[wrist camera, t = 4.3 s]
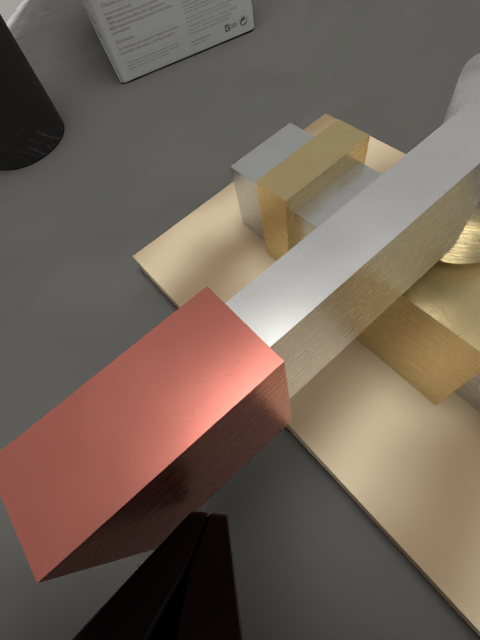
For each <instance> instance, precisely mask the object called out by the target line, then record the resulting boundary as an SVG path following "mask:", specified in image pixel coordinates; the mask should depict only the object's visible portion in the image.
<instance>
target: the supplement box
mask: <svg viewBox="0 0 480 640" xmlns="http://www.w3.org/2000/svg"><path fill="white" fill-rule="evenodd" d="M82 3H83V5H84V7H85V9H86V12H87V14H88V16H89V18H90V21H91V23H92V25H93V27H94V29H95V32H96V34H97V36H98V38H99V40H100V42H101V44H102V46H103V48H104V50H105V52H106V54H107V56H108V58H109V60H110V62H111V64H112V66H113V68H114V70H115V72H116V74H117V76H118V78H119V80H120V82H121V83H126V82H128V81H130V80H133V79H135V78H137V77H140V76H143V75H145V74H147V73H150V72H152V71H155V70H157V69H159V68H162V67H164V66H167V65H169V64H171V63H174V62H176V61H178V60H181V59H183V58H186V57H188V56H191V55H193V54H195V53H198V52H200V51H203V50H205V49H207V48H210V47H212V46H215V45H217V44H219V43H222V42H224V41H226V40H229V39H231V38H234V37H236V36H238V35H241V34H243V33H246V32H248V31H250V30H252V29H253V28H254V18H253V9H252V0H82Z"/></svg>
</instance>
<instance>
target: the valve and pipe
mask: <svg viewBox="0 0 480 640" xmlns="http://www.w3.org/2000/svg"><path fill="white" fill-rule="evenodd" d="M369 138H370V135H368V134H366V133H364V132H362V131H360V130H359V129H357V128H355V127H353V126H351V125H349V124H347V123H345V122H343V121H341V120H339V119H337V120H336V121H335V122H333V123H332V124H331V125H330V126H328V127H327V128H326V129H324V130H323V131H322V132H320V133H319V134H318V135H316V136H313V135H311V134H309V133H308V132H306V131H304V130H302V129H300V128H299V127H297V126H295V125H293V124H291V123H289V124H288V125H287V126H285V127H284V128H283V129H281V130H280V131H278V132H277V133H276V134H274V135H273V136H272V137H270V138H269V139H267V140H266V141H265V142H263V143H262V144H261V145H259V146H258V147H256V148H255V149H254V150H252V151H251V152H250V153H248V154H247V155H246V156H244V157H243V158H241V159H240V160H239V161H237V162H236V163H235V164H233V165H232V166H230V167H231V172H232V176H233V181H234V186H235V190H236V195H237V199H238V204H239V209H240V213H241V218H242V222H243V224H244V225H246V226H247V227H248V228H249V229H251V230H252V231H253V232H254V233H256V234H257V235H258V236H259V237H261V238H262V239H263V240H264V241H265V246H266V253H267V254H268V255H270V256H271V257H272V258H273V259H274V260H276V261H277V260H278V259H280V258H281V257H282V256H283V255H284V254H286V253H287V252H288V251H289V250H291V249H292V248H293V247H294V246H295V245H297V244H298V243H299V242H300V241H302V240H303V239H304V238H305V237H306V236H308V235H309V234H310V233H311V232H312V231H314V230H315V229H316V228H317V227H319V226H320V225H321V224H322V223H323V222H325V221H326V220H327V219H328V218H330V217H331V216H332V215H333V214H334V213H336V212H337V211H338V210H339V209H341V208H342V207H343V206H344V205H345V204H347V203H348V202H349V201H350V200H351V199H353V198H354V197H355V196H356V195H358V194H359V193H360V192H361V191H362V190H364V189H365V188H366V187H367V186H369V185H370V184H371V183H372V182H373V181H375V180H376V179H377V178H378V177H380V176H381V175H382V174H381V173H379V172H377V171H376V170H374V169H372V168H370V167H368V166H367V165H365V160H366V154H367V149H368V143H369ZM355 339H357V340H358V341H359V342H360V343H361V344H363V345H364V346H365V347H366V348H367V349H369V350H370V351H371V352H372V353H373V354H375V355H376V356H377V357H378V358H379V359H381V360H382V361H383V362H384V363H385V364H387V365H388V366H389V367H390V368H391V369H393V370H394V371H395V372H396V373H397V374H399V375H400V376H401V377H402V378H403V379H404V380H406V381H407V382H408V383H409V384H410V385H412V386H413V387H414V388H415V389H416V390H418V391H419V392H420V393H421V394H422V395H424V396H425V397H426V398H427V399H428V400H430V401H431V402H432V403H433V404H434V405H437V404H438V403H440V402H441V401H442V400H444V399H445V398H446V397H447V396H449V395H450V394H451V393H453V392H455V393H456V394H458V395H459V396H460V397H461V398H463V399H464V400H465V401H466V402H468V403H469V404H470V405H471V406H473V407H474V408H475V409H476V410H478V411H479V412H480V262H478V263H473V264H452V263H447V262H443V261H440V260H439V261H438V262H437V263H436V264H435V265H433V266H432V267H431V268H430V269H429V270H428V271H427V272H426V273H425V274H424V275H423V276H422V277H421V278H419V279H418V280H417V281H416V282H415V283H414V284H413V285H412V286H411V287H410V288H409V289H408V290H407V291H405V292H404V293H403V294H402V295H401V296H400V297H399V298H398V299H397V300H396V301H395V302H394V303H393V304H391V305H390V306H389V307H388V308H387V309H386V310H385V311H384V312H383V313H382V314H381V315H380V316H379V317H377V318H376V319H375V320H374V321H373V322H372V323H371V324H370V325H369V326H368V327H367V328H366V329H365V330H363V331H362V332H361V333H360V334H359V335H358V336H357V337H356V338H355Z"/></svg>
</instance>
